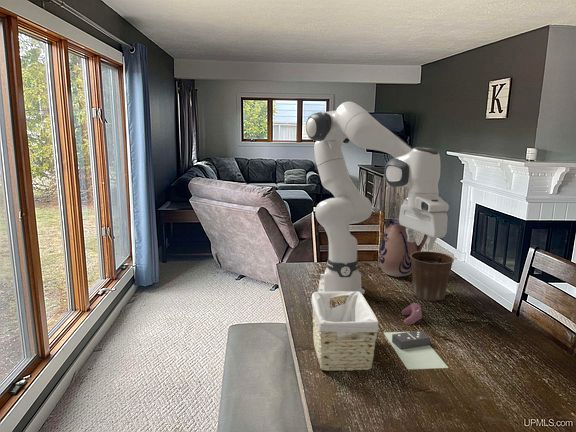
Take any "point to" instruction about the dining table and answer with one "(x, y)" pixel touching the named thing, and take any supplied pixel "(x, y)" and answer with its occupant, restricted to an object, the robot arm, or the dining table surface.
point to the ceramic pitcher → (397, 249)
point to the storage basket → (343, 331)
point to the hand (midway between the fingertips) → (419, 245)
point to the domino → (410, 339)
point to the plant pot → (430, 274)
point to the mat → (417, 355)
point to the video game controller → (412, 313)
